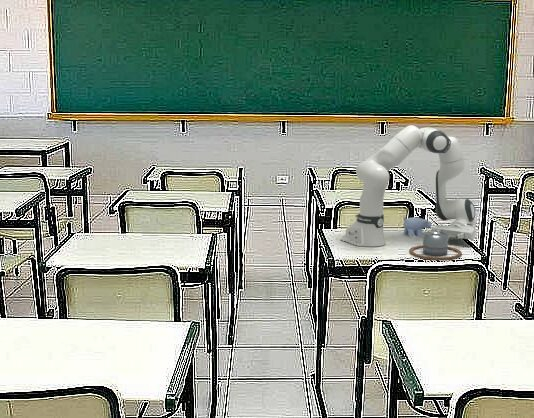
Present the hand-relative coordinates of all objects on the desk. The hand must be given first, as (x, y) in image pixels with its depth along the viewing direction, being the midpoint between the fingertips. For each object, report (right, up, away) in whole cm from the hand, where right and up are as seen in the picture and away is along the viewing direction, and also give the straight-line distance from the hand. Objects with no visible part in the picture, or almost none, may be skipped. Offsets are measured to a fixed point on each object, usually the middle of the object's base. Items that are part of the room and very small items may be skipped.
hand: (447, 235), depth 355 cm
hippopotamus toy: (-9, -1, +26) cm, 28 cm away
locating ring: (-8, -8, -10) cm, 15 cm away
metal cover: (-8, -8, -10) cm, 15 cm away
